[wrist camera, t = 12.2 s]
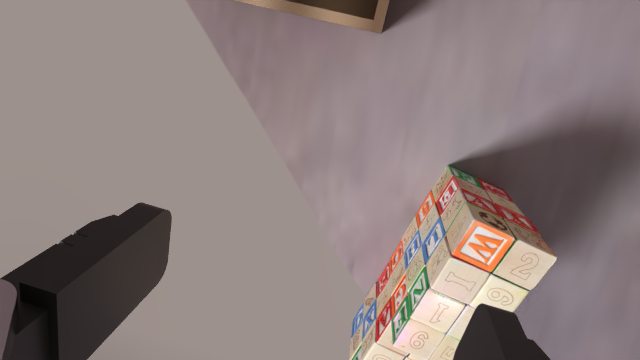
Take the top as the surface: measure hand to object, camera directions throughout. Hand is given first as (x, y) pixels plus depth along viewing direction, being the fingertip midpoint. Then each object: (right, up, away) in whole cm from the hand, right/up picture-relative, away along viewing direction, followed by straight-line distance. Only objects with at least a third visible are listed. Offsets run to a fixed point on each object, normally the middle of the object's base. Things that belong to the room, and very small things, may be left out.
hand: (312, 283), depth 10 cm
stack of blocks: (+11, -6, +31) cm, 34 cm away
